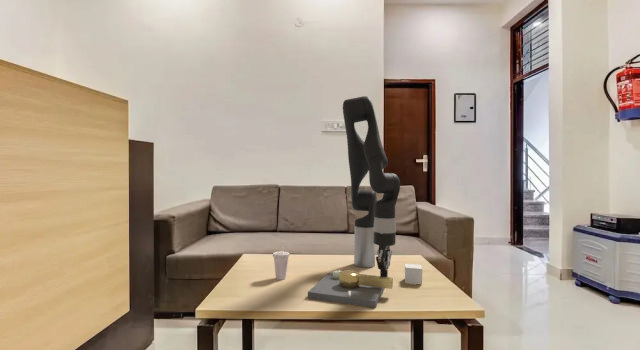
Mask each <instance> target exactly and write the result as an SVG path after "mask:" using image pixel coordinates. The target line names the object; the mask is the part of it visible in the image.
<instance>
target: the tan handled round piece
mask: <svg viewBox="0 0 640 350" xmlns="http://www.w3.org/2000/svg"><path fill="white" fill-rule="evenodd" d="M340 271H341V272H339V285H340V286H341V287H344V288H357V287H359V286H360V285H364V286H372V287H380V288H385V289H389V290H392V289H393V286H394V285H393V282H394V280H393V279H394V278H393V277H391V276H388V277H382V276H380V275H372V274H363V273H360V272H359V271H356V270H349V269H347V270H340Z"/></svg>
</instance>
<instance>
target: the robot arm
mask: <svg viewBox="0 0 640 350" xmlns="http://www.w3.org/2000/svg"><path fill="white" fill-rule="evenodd" d="M342 112H343V113H342V115H343V120H344V127H345V132H346V139H347V140H346V141H347V142H346V143H347V157H348V158H347V159H348V166H349V174H350V186H351V187H350V189H351V194H350V195H351V207H352V209H353V210H354V211H357V212H358V211H359V212H360V211H361V212H368V213H367V214H366V215H364V216H363V217H362V216H361V217H358V218H356V219H355V220H354V240H353V241H354V246H353V247H354V249H353V250H354V251H353V252H354V253H353V254H354V255H353V257H354V258H353V261H354V263H353V264H354V266H355V267H359V268H373V267H375V266H377V269H378V270H379V271H380V274H379V276H382V277H389V276H388V274H389V273H388V272H389V271H388V270H389V267H390V265H391V260H392V259H391V258H392V253H393V250H392V249H391V246H395V244H396V243H397V242H396V239H397V238H396V237H397V236H396V235H397V234H396V232H397V231H396V230H397V229H396V228H397V225H396V224H397V223H396V205H397V201H398V197H399V194H400V190H401V180H400V177H399V176H398V175H397V174H396V173H392V172H390V173H389V172H384V171H383V170H384V169H385V168H386V167H387V166H388V165H389V164H388V163H389V160H388V157H387V155H386V152H385V148H384V147H383V144H382V140H381V136H380V132H379V131H380V130H379V126H378V122H377V118H376V113H375V109H374V105H373V102H372V100H371V98H370V97H369V96H365V95H364V96H358V97H353V98H348V99H347V98H346V99H345V100H344V101H343V104H342ZM361 122H366V123H367V132H366V136H365V138H364V140H363V139H362V137H361V136H360V135H359V134H358V132H357V130H356V127H355V123H361ZM367 174H368V179H369V186H370V188H371V190H367V189H360V186H361V183H362V181H363V180H364V178H365V177H366V176H367ZM377 194H382V198H381V199H379V200H378V199H377ZM376 246H378V249H376ZM376 250H377V251H376ZM376 253H377V256H376Z"/></svg>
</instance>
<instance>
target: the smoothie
mask: <svg viewBox="0 0 640 350" xmlns="http://www.w3.org/2000/svg"><path fill="white" fill-rule="evenodd" d="M272 257H273V261H274V262H273V263H274V273H275V279H276V281H277V280H279V281H282V280H286V278H287V272H288V264H289V263H288V262H289V257H290V252H288V251H284V241H281V250H279V251H275V252H273V253H272Z"/></svg>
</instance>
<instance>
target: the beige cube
mask: <svg viewBox="0 0 640 350" xmlns="http://www.w3.org/2000/svg"><path fill="white" fill-rule="evenodd" d="M404 283H409V284H408V285H416V284H422V285H423V267H422V264H415V263H405V264H404Z"/></svg>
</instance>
